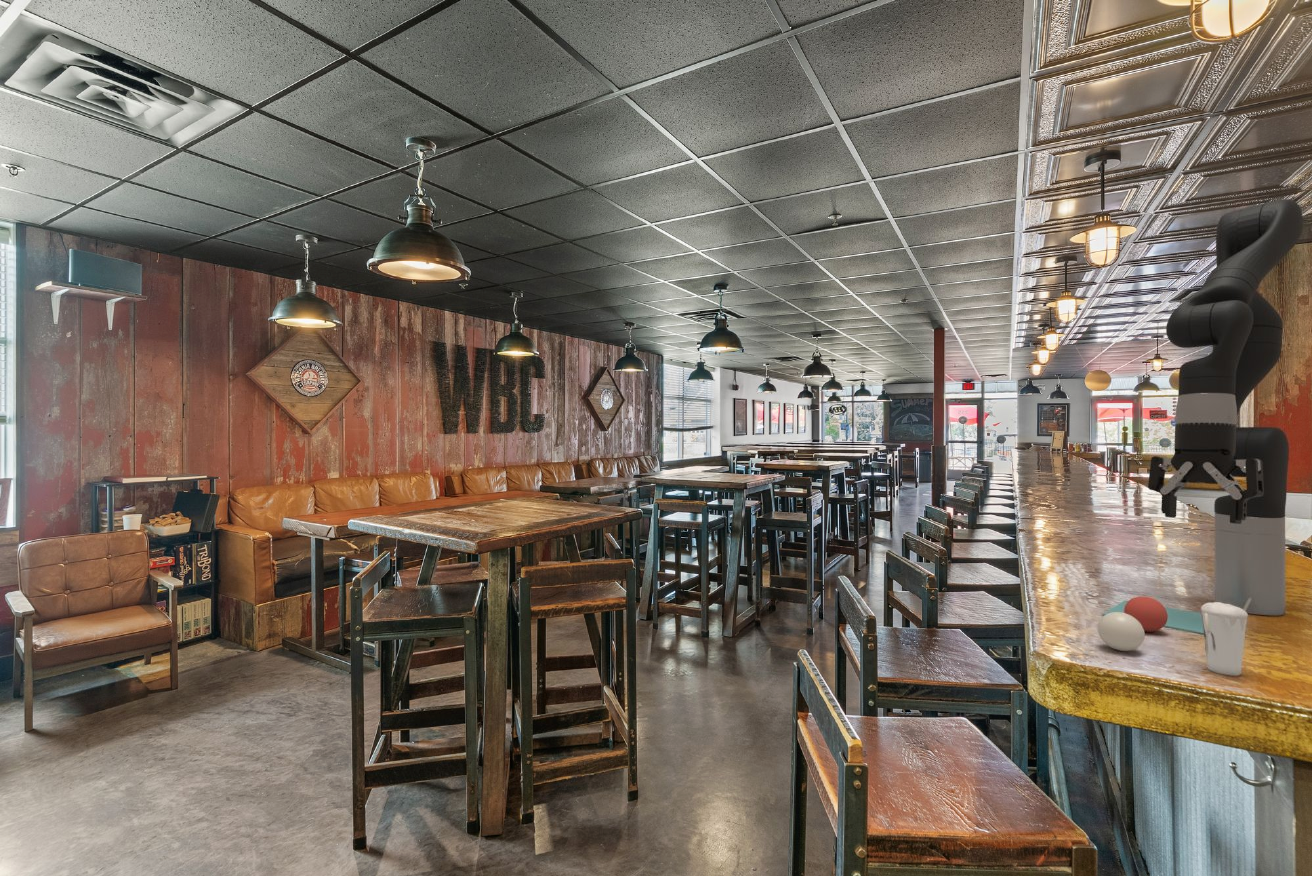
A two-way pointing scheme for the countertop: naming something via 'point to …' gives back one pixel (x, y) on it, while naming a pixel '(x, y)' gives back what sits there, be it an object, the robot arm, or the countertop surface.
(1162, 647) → the countertop surface
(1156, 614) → the ball
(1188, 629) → the mark
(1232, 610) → the milkshake
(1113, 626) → the ball
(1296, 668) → the countertop surface
